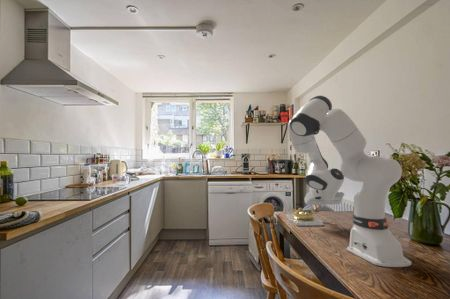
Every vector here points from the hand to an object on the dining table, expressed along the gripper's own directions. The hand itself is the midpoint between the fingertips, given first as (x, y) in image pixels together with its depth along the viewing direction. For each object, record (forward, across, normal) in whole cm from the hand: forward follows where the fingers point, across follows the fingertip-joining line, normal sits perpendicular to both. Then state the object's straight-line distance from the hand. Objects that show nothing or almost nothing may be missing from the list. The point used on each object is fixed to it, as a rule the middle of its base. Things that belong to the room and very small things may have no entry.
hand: (319, 206), depth 140 cm
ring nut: (+8, +6, +2) cm, 10 cm away
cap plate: (+10, +8, +3) cm, 13 cm away
